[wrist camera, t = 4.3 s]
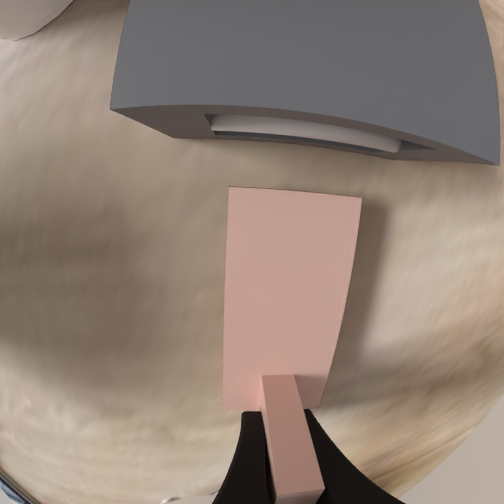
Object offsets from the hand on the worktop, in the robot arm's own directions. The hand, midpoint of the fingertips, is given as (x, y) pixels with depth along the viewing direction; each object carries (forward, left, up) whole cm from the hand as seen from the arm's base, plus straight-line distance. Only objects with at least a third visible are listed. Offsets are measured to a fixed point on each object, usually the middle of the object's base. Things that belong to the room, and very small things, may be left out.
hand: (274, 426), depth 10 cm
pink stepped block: (0, -3, -1) cm, 4 cm away
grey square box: (0, -14, -2) cm, 14 cm away
